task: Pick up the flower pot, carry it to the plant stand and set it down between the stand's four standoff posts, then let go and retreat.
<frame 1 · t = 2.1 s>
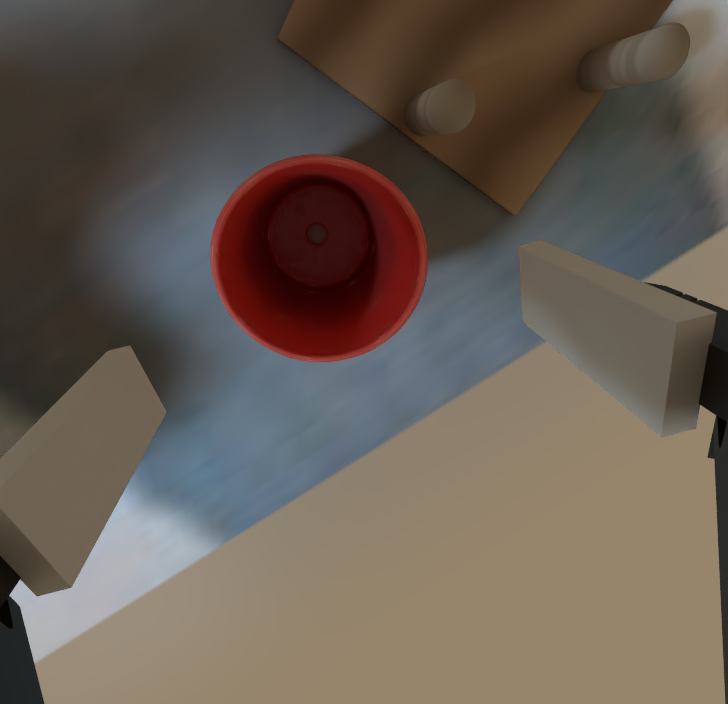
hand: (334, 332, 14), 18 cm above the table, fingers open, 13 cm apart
flower pot: (318, 233, 30), on the table
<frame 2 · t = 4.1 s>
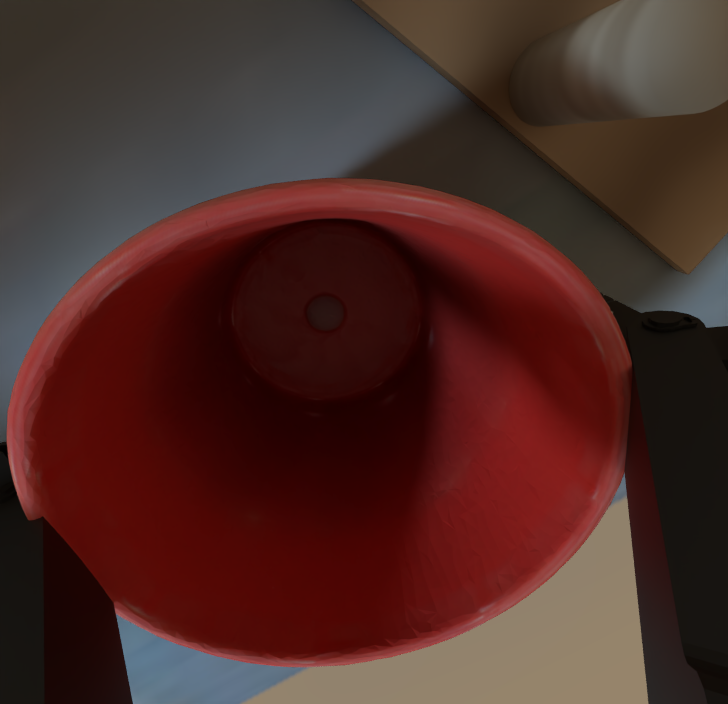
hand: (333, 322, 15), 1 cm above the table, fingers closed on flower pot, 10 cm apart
flower pot: (327, 307, 16), on the table, touching gripper
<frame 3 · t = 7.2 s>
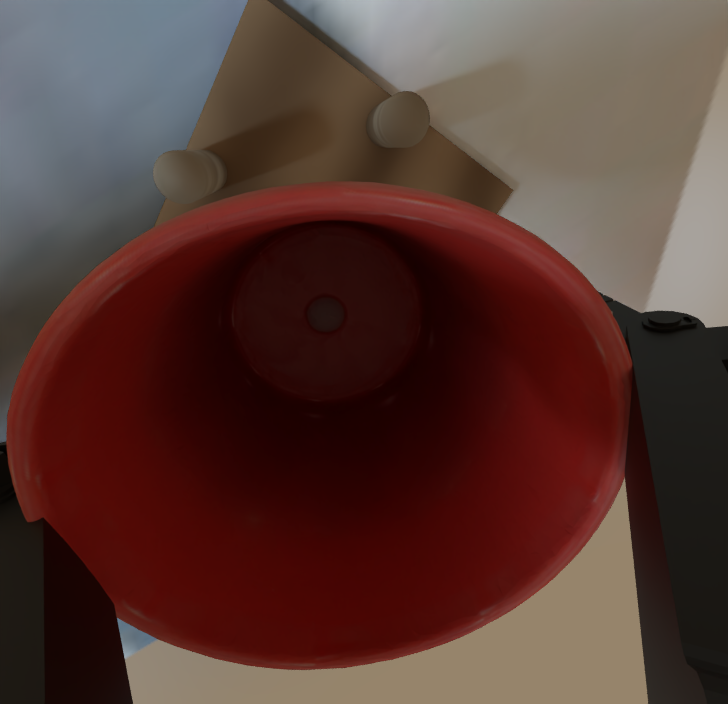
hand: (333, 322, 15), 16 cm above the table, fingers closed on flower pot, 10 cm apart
flower pot: (327, 309, 16), point 14 cm above the table, touching gripper
plant stand: (320, 237, 29), on the table
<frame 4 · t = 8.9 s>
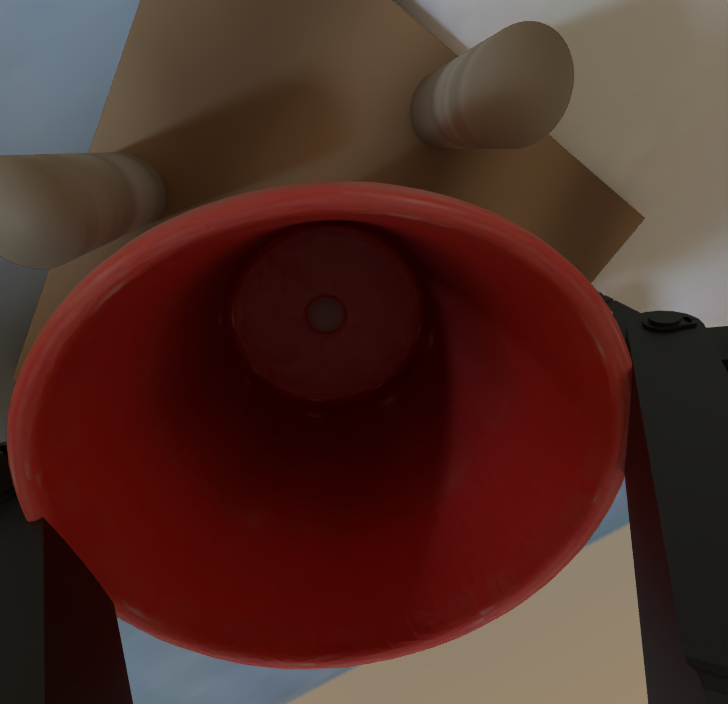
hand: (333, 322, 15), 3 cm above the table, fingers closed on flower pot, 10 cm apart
flower pot: (327, 308, 16), point 2 cm above the table, touching gripper
plant stand: (328, 294, 18), on the table
when the fingers open (2 cm above the table, at t = 10.3 s): flower pot stays where it is, resting on plant stand.
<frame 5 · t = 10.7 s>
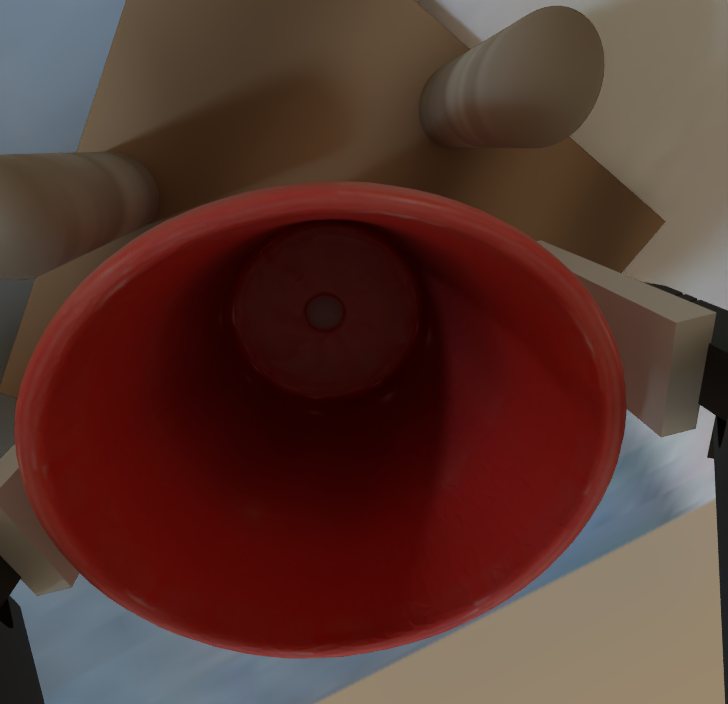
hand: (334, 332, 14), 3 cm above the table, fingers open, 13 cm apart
flower pot: (327, 307, 16), resting on plant stand
plant stand: (330, 301, 17), on the table
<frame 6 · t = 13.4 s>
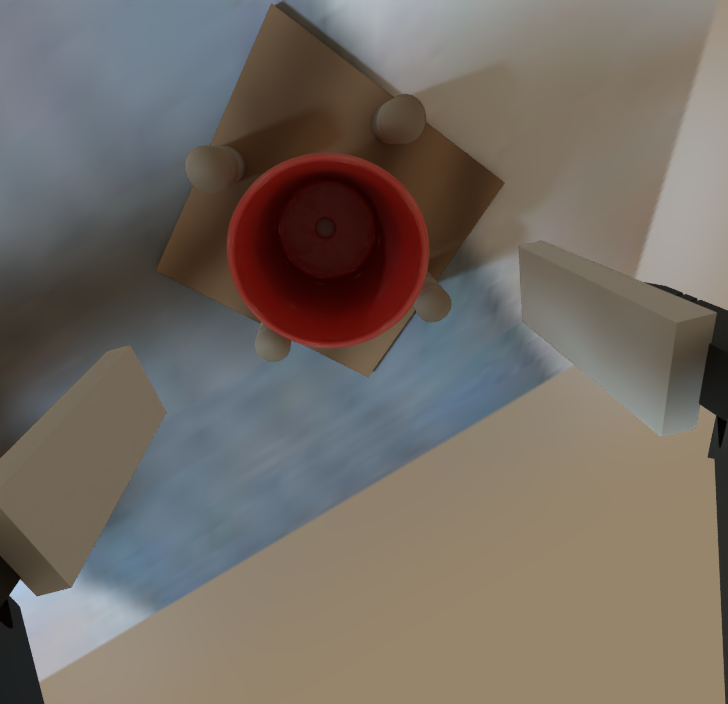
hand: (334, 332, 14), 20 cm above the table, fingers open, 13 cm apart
flower pot: (326, 227, 31), resting on plant stand
plant stand: (329, 225, 32), on the table
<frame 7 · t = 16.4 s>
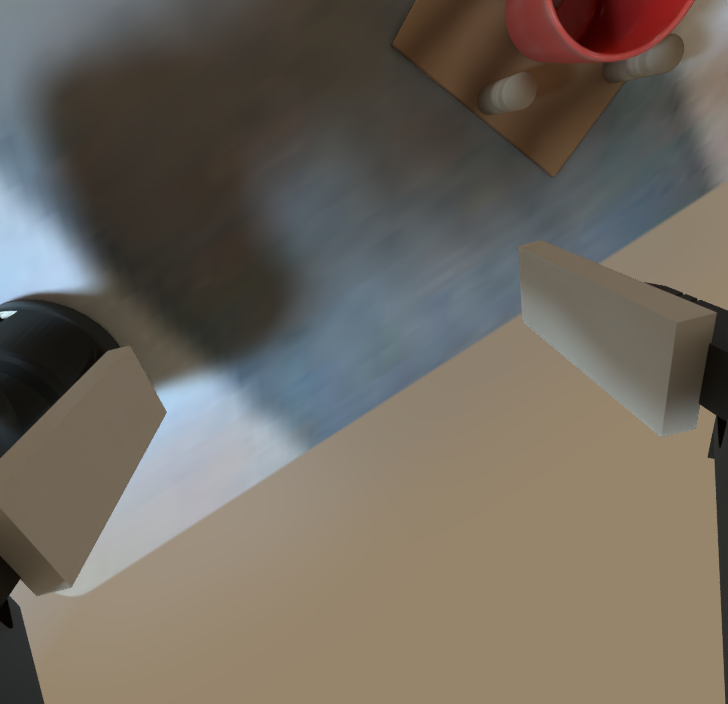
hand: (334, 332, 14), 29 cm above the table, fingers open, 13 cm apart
flower pot: (548, 4, 34), resting on plant stand
plant stand: (548, 5, 34), on the table
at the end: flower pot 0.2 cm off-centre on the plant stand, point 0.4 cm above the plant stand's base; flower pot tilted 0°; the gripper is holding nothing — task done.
